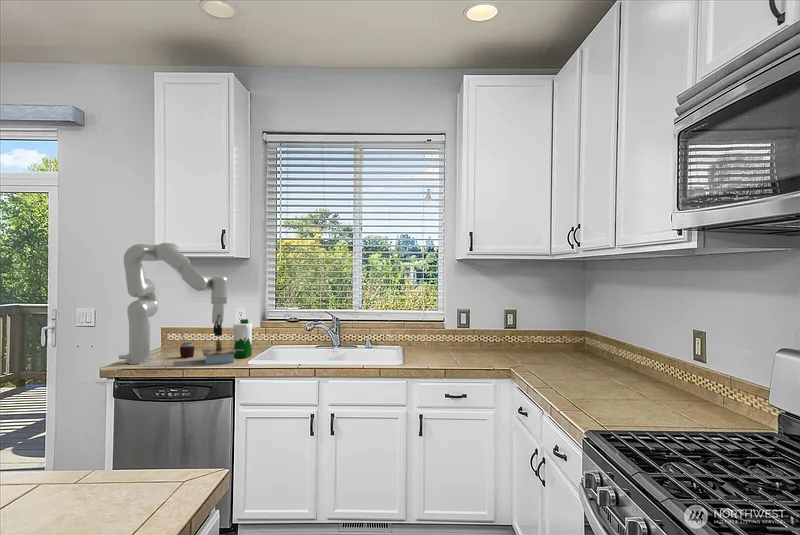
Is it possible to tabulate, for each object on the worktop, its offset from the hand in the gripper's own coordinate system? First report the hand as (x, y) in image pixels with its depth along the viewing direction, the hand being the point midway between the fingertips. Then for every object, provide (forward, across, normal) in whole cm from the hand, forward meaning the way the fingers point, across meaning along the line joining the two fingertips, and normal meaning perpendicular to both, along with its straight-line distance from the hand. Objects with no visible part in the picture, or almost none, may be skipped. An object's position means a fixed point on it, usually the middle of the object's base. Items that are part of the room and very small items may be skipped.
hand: (217, 334), depth 261 cm
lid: (+9, 0, +1) cm, 9 cm away
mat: (+15, 0, -13) cm, 19 cm away
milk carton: (+14, -12, +14) cm, 23 cm away
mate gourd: (+15, -18, -14) cm, 28 cm away
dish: (+14, 0, +1) cm, 14 cm away
